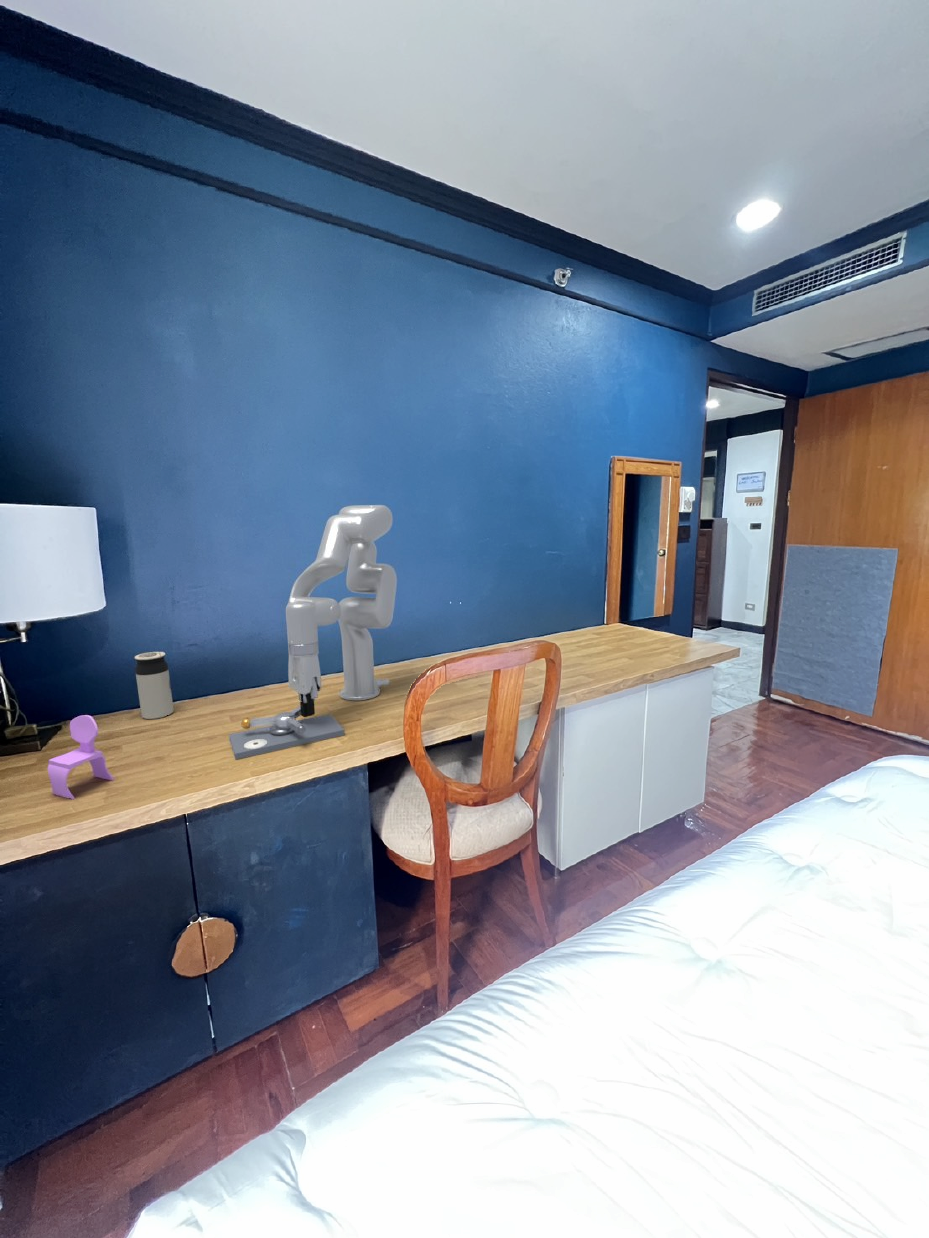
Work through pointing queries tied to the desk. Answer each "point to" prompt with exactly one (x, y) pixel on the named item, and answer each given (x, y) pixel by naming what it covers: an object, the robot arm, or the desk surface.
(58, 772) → the toy chair
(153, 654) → the travel mug
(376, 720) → the desk surface
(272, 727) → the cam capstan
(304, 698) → the robot arm
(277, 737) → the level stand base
